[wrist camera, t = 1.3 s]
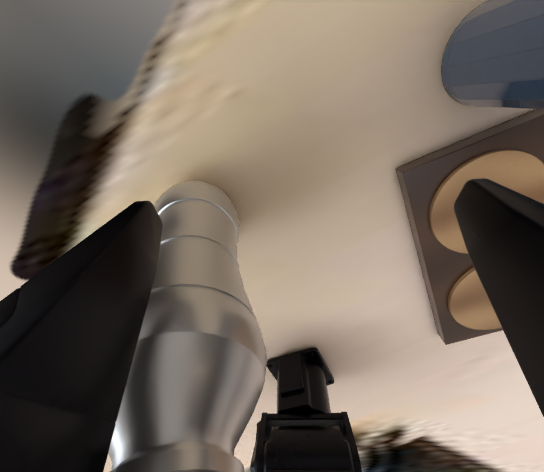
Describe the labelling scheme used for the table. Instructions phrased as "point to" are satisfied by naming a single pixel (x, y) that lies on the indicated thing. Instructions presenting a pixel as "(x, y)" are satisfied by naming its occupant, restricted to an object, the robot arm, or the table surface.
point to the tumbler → (498, 56)
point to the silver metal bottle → (192, 346)
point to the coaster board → (443, 223)
